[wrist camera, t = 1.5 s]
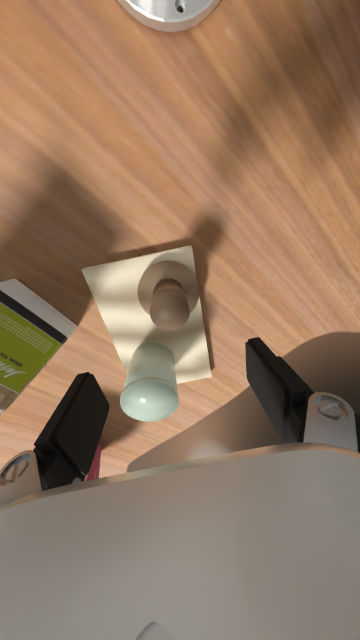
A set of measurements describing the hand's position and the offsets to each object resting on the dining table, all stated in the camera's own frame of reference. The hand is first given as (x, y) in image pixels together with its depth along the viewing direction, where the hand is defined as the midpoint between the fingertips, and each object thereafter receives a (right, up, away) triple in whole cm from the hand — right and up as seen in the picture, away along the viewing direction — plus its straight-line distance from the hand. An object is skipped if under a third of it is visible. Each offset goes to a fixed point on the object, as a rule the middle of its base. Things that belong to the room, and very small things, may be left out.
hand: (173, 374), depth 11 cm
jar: (-4, -3, +18) cm, 19 cm away
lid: (-1, +7, +13) cm, 15 cm away
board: (-3, +2, +17) cm, 18 cm away
